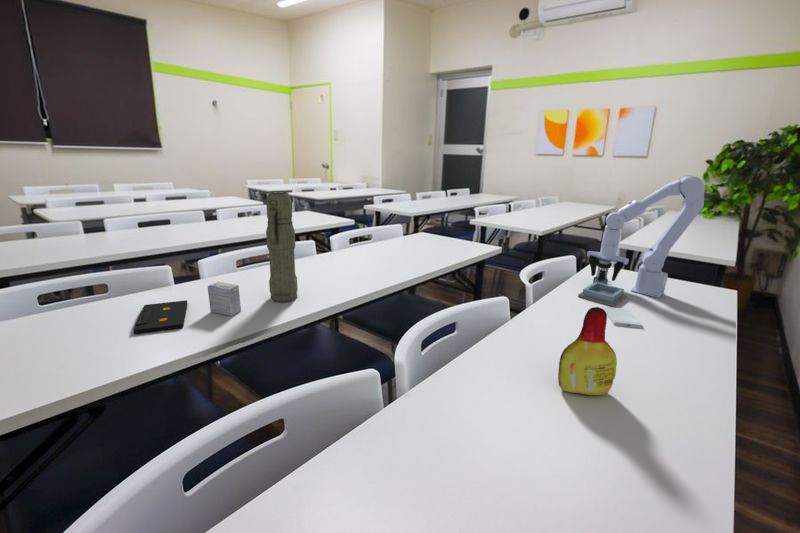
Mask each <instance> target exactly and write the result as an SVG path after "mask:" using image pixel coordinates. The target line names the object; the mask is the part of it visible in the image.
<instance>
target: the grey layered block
mask: <svg viewBox="0 0 800 533" xmlns="http://www.w3.org/2000/svg"><path fill="white" fill-rule="evenodd" d="M207 294H208V302H209V310H210V313H213V314H218V315H219V314H220V315H223V316H229V317H233V316H234V315H236V314H238V313H241V311H242V306H241V299H240V298H241V297H240V287H239V285H238V284H234V283H229V282H223V281H216V282H214V283H211V284H209V285H207Z"/></svg>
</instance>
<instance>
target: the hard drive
mask: <svg viewBox="0 0 800 533" xmlns="http://www.w3.org/2000/svg"><path fill="white" fill-rule="evenodd" d="M601 308H602V309H603V310H604V311H605V312H606V314H607V318H608V320H610V322H611V323H612V325H613V326H620V327H629V328H639V329H643V328H644V326H643V324H642V323H641V322H640V321H639V319H638V318H637V317H636V316H635V315H634V314H633V312H632V311H631V310H630V309H629V308H621V307H612V306H602V307H601Z"/></svg>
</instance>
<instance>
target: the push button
mask: <svg viewBox="0 0 800 533" xmlns="http://www.w3.org/2000/svg"><path fill="white" fill-rule="evenodd" d="M612 265H613V263H611V261H609V260H604V259H599V260H598V261H597V267H598V268H597V270H596V275H595V276H593V280H592V281H593V283H595V282H598V283H601V284H605V285H609V286H612V284H611V283H612V281H609V279H608V272H609V269H611V266H612ZM593 283H592V284H593Z"/></svg>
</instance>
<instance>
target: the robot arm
mask: <svg viewBox="0 0 800 533" xmlns="http://www.w3.org/2000/svg"><path fill="white" fill-rule="evenodd" d="M705 191H706V186H705V184H704V182H703V180H702V179H701V178H700V177H698V176H693V175H690V174H685V175H683V176H680V177H679V178H678V179H674V180H672V181H670V182H669V183H667V184H665V185H663V186H662V187H660V188H659V189H657V190H656V191H653V192H652V193H651V194H649V195H647V196H646V197H645V198H642V199H640V200H638V199H635V200H629V201H627V204H626V205H623V207H620V208H619V209H618V208H617V209H615V210H614V211H615V212H611V213H608V215H606V218H605V224H606V225H605V227H604V230H603V234H602V239H601V245H600V249H599V250H600V251H593V250H592V251H591V250H589V251H587V253H586V257H588V259H587V260H588V262H589V263H588V264H589V265H590V273H591V276H592V277H595V276H596V274H597V267H598V266H597V261H600V259H604V260H609V261H610V262H614V265H613V274H612V277H611V282H612V281H613V282H615V281H616V279H617V277H618V275H619V273H620V272H621V270H622V269H623V268H624V266H625V265H626V266H627V265H628V264H629V260H630V259H629V258H626V257H622V256H620V255H617V253H618V248H619V243H620V238H621V231H622V228H623V227H624V225H625V223H629V222H631V221H632V220H635V219H636V218H638V217H639V216H641V215H643V214H644V213H645V211H646V208H648V207H651V206H652V205H654V204H656V203H658V202H659V201H661V200H664V199H665V198H667V197H669V196H680V195H681V196H682V200H683V203H684V205H683V207H682V209H680V211H679V212H678V213H677V215H676V216H675V217H674V218H673V220H672V221H671V223H670V224H669V225H668V226H667V228H666V229H665V231H663V233H662V234H661V236H660V237H659V239H658V240H657V241H656V242H655V243H654V244H652V245H651V247H649V249H647V250H645V251H644V252H643V253H642V254H641V262H642V263H641V265H638V266H639V267H638V270H637V271H638V272H637V276H636V280H635V284H634V287H633V288H631V289H630V292H634V293H638V294H642V295H645V296H648V297H649V296H650V297H654V298H657V299H658V298H660V297H661V296H662V295H664V293H665V289H666V285H667V281H668V277H669V276H668V275H669V273H667V272H663V271H662V269H663V267H664V265H665V260H666V259H667V258H668V255H669V252H670V250H671V249H672V248H673V247H674V245H675V244H676V242H678V240H679V239H680V238H681V236H682V235H683V234H684V232H685V231H686V230H687V228H688V227H689V226H690V225H691V223H692V222H693V221H694V220H695V218H696V217H697V216H698V214H699V213H700V212H701V211H702V210H703V208H704V206H705V193H706V192H705Z"/></svg>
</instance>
